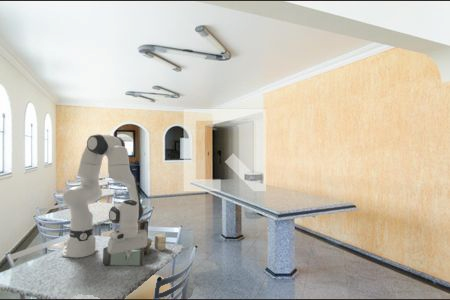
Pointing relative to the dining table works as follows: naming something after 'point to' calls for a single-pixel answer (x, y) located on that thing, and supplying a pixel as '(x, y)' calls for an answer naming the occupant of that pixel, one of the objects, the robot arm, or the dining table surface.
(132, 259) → the green rectangular block
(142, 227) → the coffee box
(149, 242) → the stool
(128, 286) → the dining table surface
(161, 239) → the birch block
